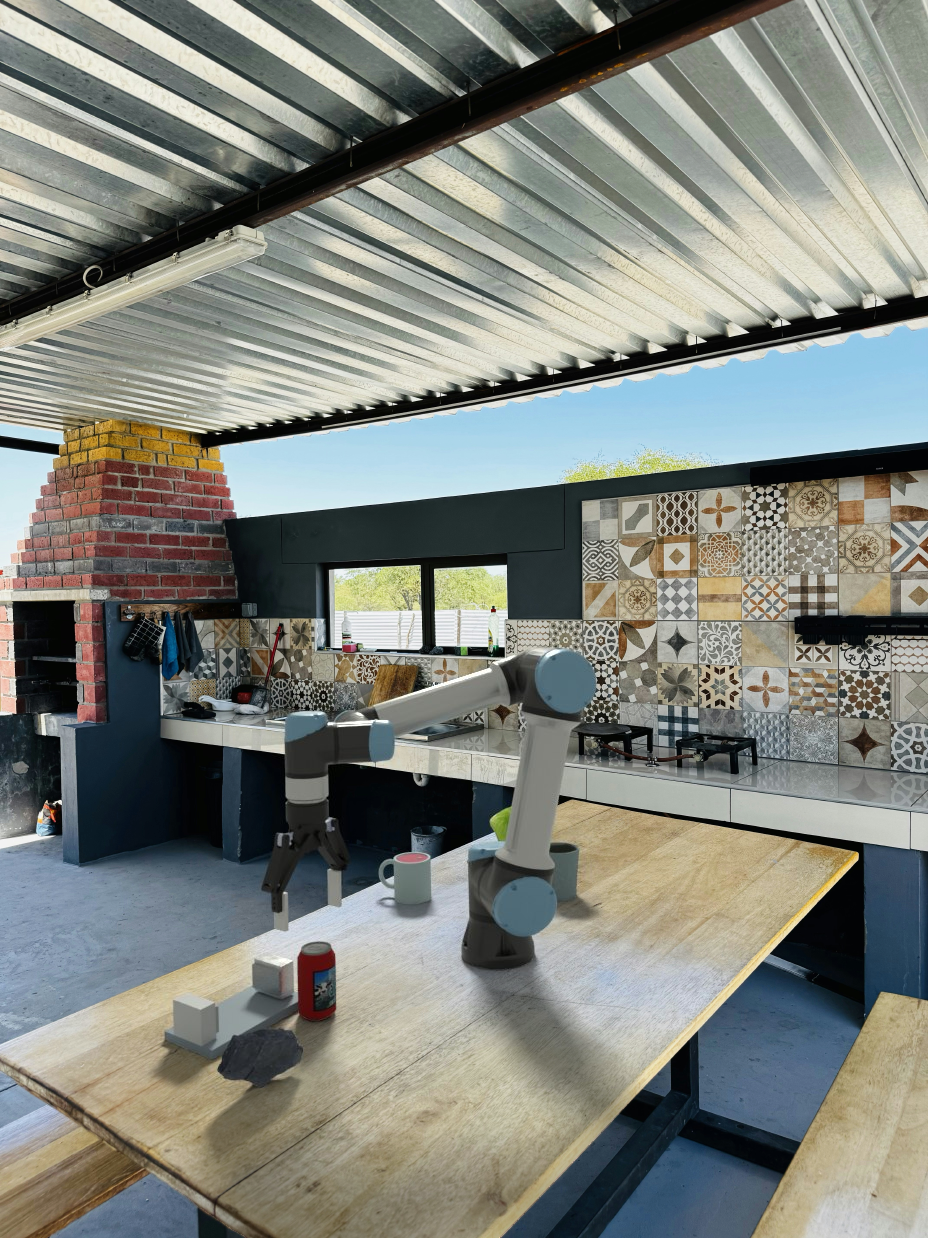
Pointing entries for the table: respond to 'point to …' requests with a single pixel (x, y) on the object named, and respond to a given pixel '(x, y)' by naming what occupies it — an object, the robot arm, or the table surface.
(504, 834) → the lettuce
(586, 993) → the table surface
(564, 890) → the grey-green cup
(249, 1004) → the vise bed
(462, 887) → the table surface
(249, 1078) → the stone
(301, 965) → the beverage can
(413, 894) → the mug
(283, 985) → the block
